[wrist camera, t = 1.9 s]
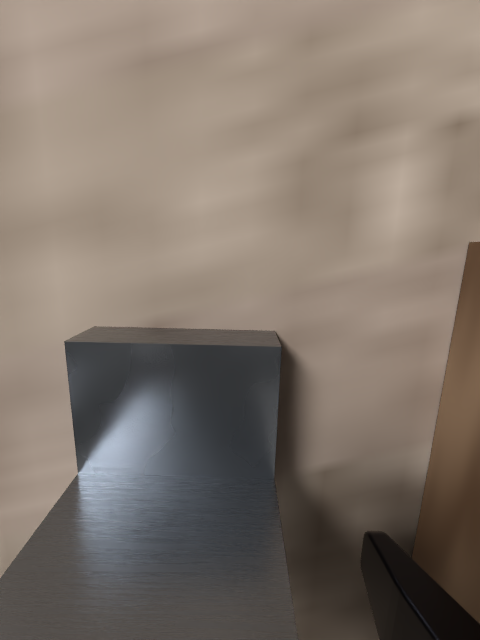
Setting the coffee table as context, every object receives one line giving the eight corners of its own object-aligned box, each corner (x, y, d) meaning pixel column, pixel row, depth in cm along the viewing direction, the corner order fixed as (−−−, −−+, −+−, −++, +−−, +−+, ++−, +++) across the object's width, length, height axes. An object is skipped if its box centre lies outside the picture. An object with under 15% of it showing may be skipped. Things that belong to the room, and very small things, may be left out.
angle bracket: (266, 484, 10) (307, 856, 4) (107, 480, 10) (-107, 847, 4) (274, 330, 8) (351, 505, 3) (94, 326, 8) (-239, 491, 3)
